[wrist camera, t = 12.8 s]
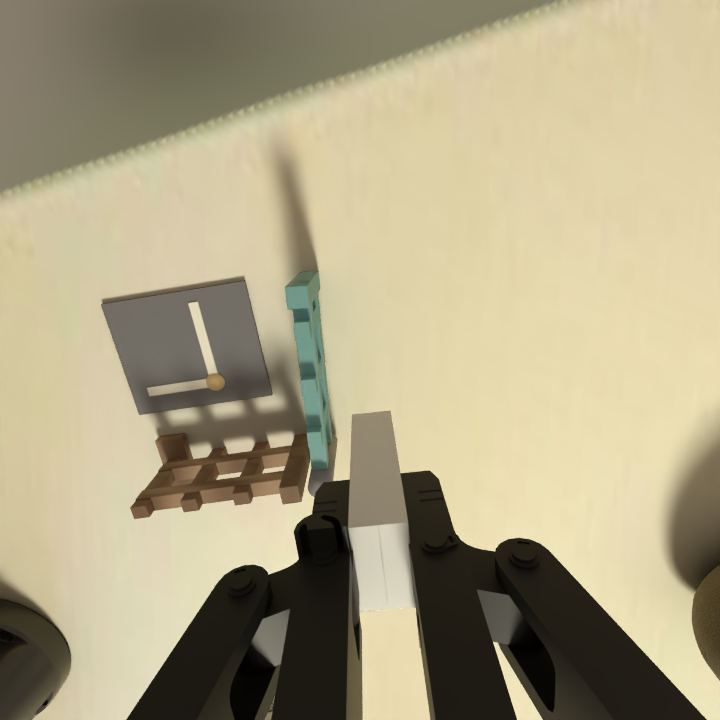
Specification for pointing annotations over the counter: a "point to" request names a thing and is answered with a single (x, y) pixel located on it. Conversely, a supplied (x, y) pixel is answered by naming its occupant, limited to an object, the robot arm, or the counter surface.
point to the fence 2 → (313, 376)
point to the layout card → (189, 347)
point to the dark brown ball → (708, 619)
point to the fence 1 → (198, 476)
